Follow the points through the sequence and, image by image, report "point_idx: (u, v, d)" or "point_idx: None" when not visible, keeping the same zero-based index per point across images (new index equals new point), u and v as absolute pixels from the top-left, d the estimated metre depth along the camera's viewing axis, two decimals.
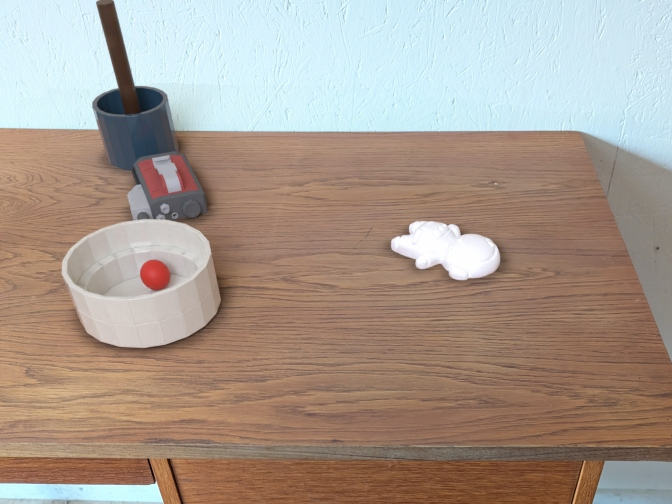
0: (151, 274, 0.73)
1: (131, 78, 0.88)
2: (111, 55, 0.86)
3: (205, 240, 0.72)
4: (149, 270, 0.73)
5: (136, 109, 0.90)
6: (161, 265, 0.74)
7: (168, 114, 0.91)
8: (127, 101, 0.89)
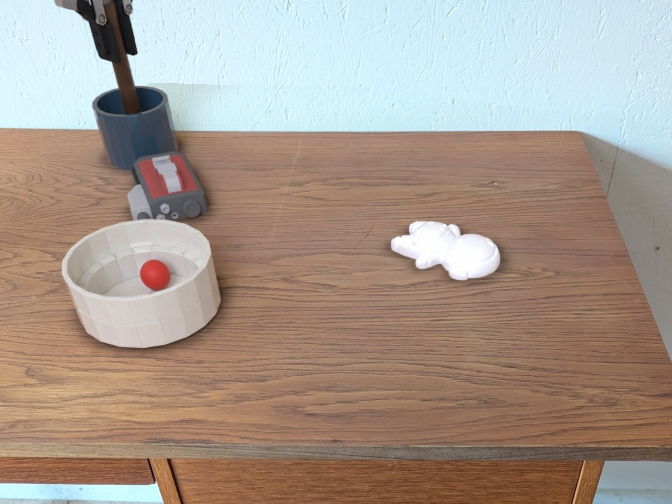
0: (151, 274, 0.73)
1: (131, 78, 0.88)
2: None
3: (205, 240, 0.72)
4: (149, 270, 0.73)
5: (136, 109, 0.90)
6: (161, 265, 0.74)
7: (168, 114, 0.91)
8: (127, 101, 0.89)
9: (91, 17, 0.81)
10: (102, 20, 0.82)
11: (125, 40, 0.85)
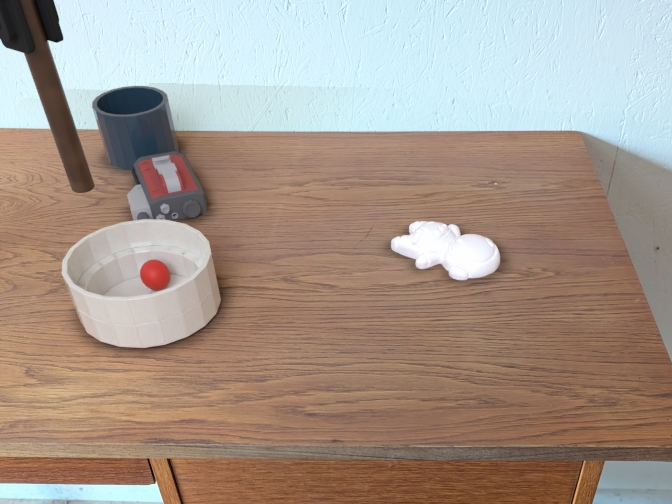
0: (151, 274, 0.73)
1: (56, 77, 0.58)
2: None
3: (205, 240, 0.72)
4: (149, 270, 0.73)
5: (67, 124, 0.60)
6: (161, 265, 0.74)
7: (168, 114, 0.91)
8: (52, 112, 0.59)
9: None
10: None
11: (42, 18, 0.55)
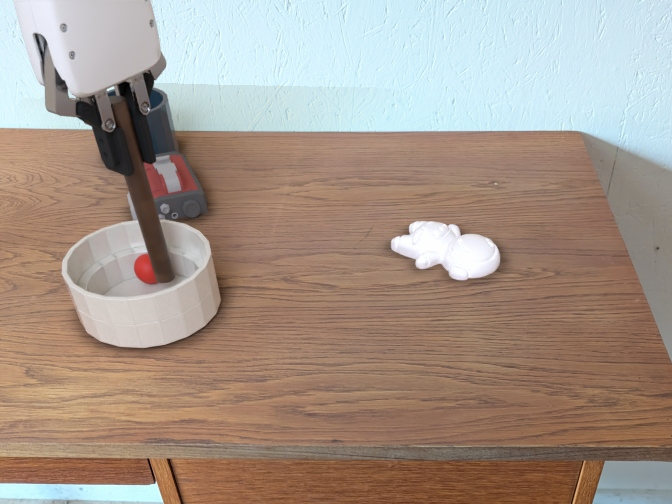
0: (138, 260, 0.74)
1: (149, 192, 0.67)
2: None
3: (205, 240, 0.72)
4: (137, 260, 0.74)
5: (155, 229, 0.70)
6: None
7: (168, 114, 0.91)
8: (144, 220, 0.69)
9: (95, 123, 0.60)
10: (110, 125, 0.61)
11: (140, 146, 0.65)
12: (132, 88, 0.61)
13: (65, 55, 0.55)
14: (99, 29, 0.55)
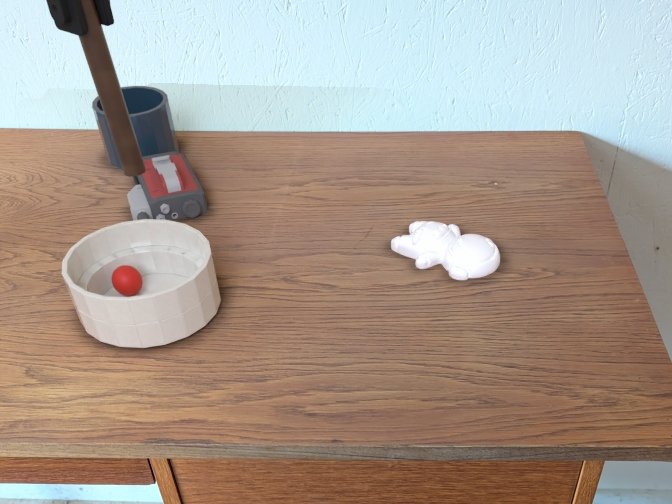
0: None
1: (109, 61, 0.60)
2: None
3: (205, 240, 0.72)
4: None
5: (118, 107, 0.62)
6: (111, 278, 0.73)
7: (168, 114, 0.91)
8: (104, 95, 0.61)
9: None
10: None
11: (95, 2, 0.57)
12: None
13: None
14: None
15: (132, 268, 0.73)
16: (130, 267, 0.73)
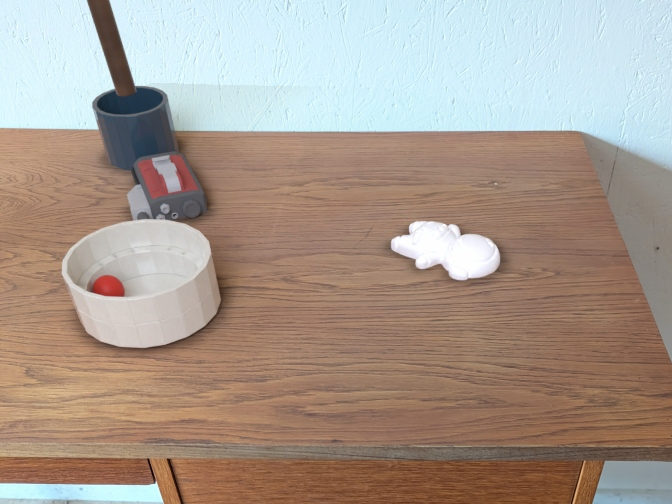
0: None
1: None
2: None
3: (205, 240, 0.72)
4: None
5: (110, 29, 0.69)
6: None
7: (168, 114, 0.91)
8: (97, 17, 0.68)
9: None
10: None
11: None
12: None
13: None
14: None
15: (99, 290, 0.72)
16: (97, 290, 0.72)
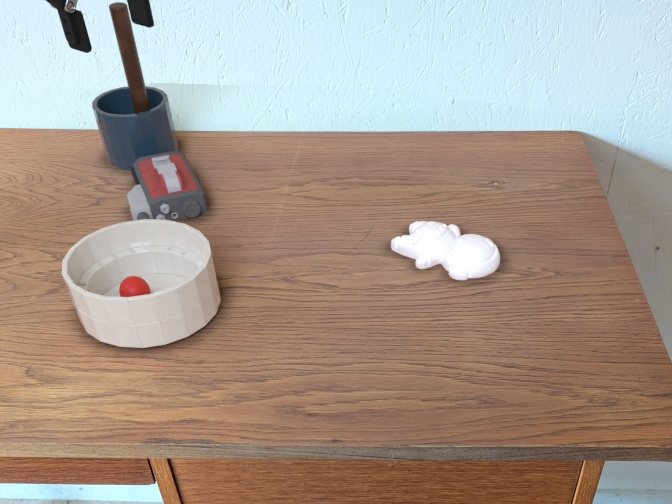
0: None
1: (142, 82, 0.87)
2: (122, 58, 0.85)
3: (205, 240, 0.72)
4: None
5: None
6: (122, 281, 0.72)
7: (168, 114, 0.91)
8: (137, 105, 0.89)
9: (59, 4, 0.77)
10: (71, 7, 0.78)
11: (142, 12, 0.86)
12: None
13: None
14: None
15: None
16: (139, 295, 0.72)
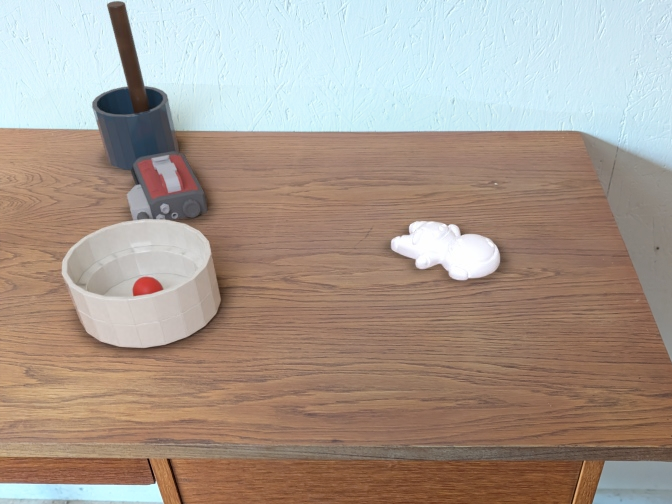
0: None
1: (141, 81, 0.88)
2: (121, 57, 0.85)
3: (205, 240, 0.72)
4: None
5: None
6: (147, 279, 0.72)
7: (168, 114, 0.91)
8: (136, 104, 0.89)
9: None
10: None
11: None
12: None
13: None
14: None
15: None
16: None
